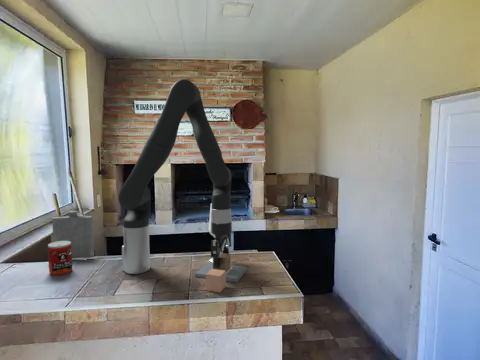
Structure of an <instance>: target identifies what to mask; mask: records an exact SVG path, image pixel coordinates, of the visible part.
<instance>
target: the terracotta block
mask: <svg viewBox="0 0 480 360" xmlns="http://www.w3.org/2000/svg"><path fill="white" fill-rule="evenodd" d="M226 282H227V281H226V271H225V270H217V269H211V270H210V271H209V272H208V273H207V274H206V278H205V291H208V292H209V291H210V292H215V293H221V292H222V291H223V290H224V289H225V288H226V287H227V283H226Z"/></svg>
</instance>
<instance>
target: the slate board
mask: <svg viewBox="0 0 480 360" xmlns="http://www.w3.org/2000/svg"><path fill="white" fill-rule="evenodd" d="M211 269H213V263H210V262H207V263H206V264H205V265H204V266H202V267H201V268H200V269H199V270H198V271H196V272H195V273H194V276H195V277H196V278H203V279H206V274H207V273H208V272H209V271H210V270H211ZM247 271H248V267H247V266H241V265H239V266H238V265H234V264H232V265H231V264H230V269H229V270H228V271H227V272H226V282H231V283H238V282H239V280H240V279H241V278H242V277H243V276H244V274H245V273H246V272H247Z"/></svg>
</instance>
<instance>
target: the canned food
mask: <svg viewBox="0 0 480 360" xmlns="http://www.w3.org/2000/svg"><path fill="white" fill-rule="evenodd" d="M47 257H48V258H47V259H48V272H49V275H51V276H55V277H56V276H63V275H67V274H70V273H71V272H72V271H73V258H72V248H71V242H70V241H56V242H50V243H48V244H47Z"/></svg>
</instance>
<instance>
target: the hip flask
mask: <svg viewBox="0 0 480 360" xmlns="http://www.w3.org/2000/svg"><path fill="white" fill-rule="evenodd" d="M78 213H79V212H78V210H70V211H68V212H67V214H68V216H55V217H54V216H53V217H52V218H51V222H52V239H53V240H52V241H53V242H56V241H70V242H71V248H72V259H80V258H83V259H86V258H88V259H91V258H93V257H95V253H94V251H95V245H94V225H93V224H94V223H93V222H94V221H93V220H94V219H93V216H92V215H80V214H78Z"/></svg>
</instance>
